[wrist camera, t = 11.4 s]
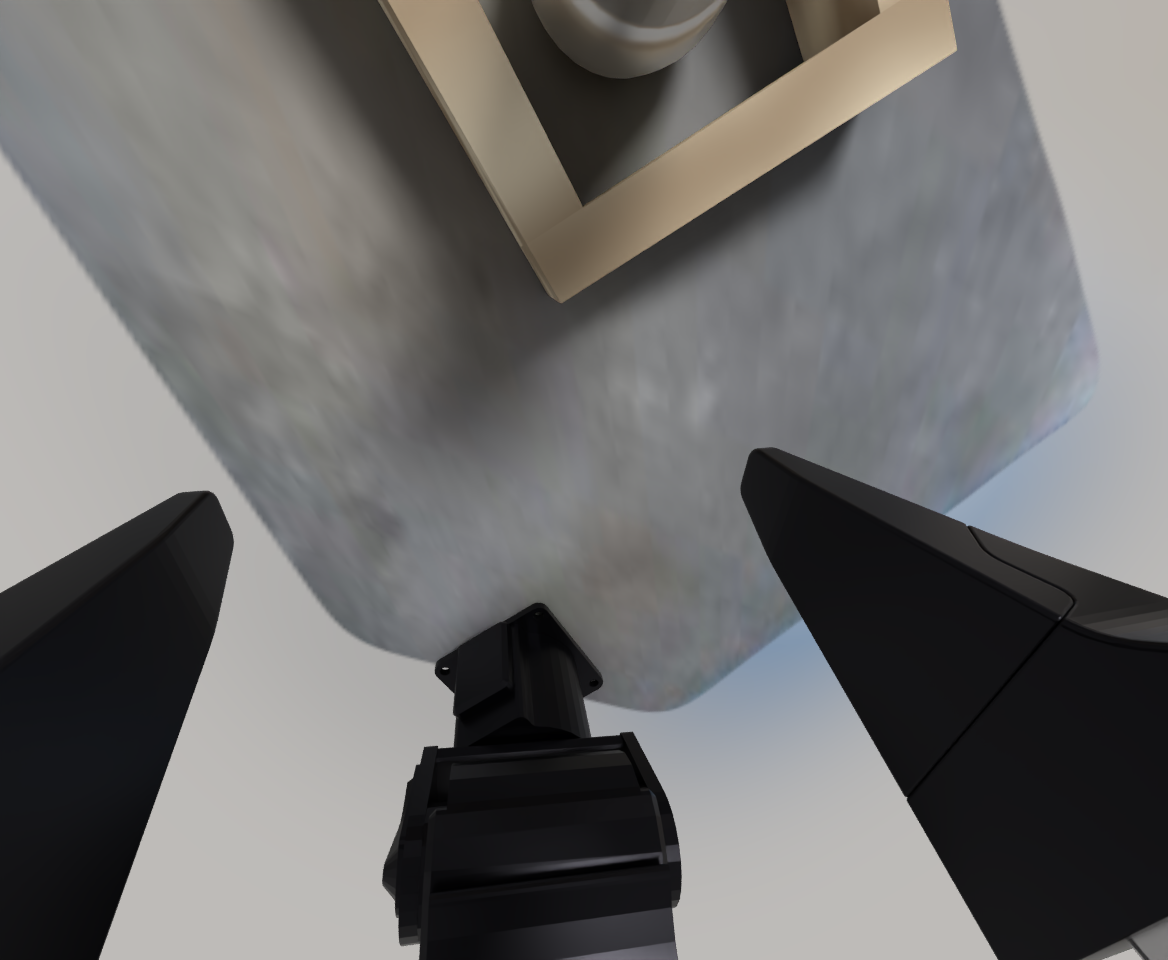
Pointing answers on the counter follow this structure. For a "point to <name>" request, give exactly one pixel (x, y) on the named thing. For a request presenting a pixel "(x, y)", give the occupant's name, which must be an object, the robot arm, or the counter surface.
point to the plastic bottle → (627, 32)
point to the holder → (685, 172)
